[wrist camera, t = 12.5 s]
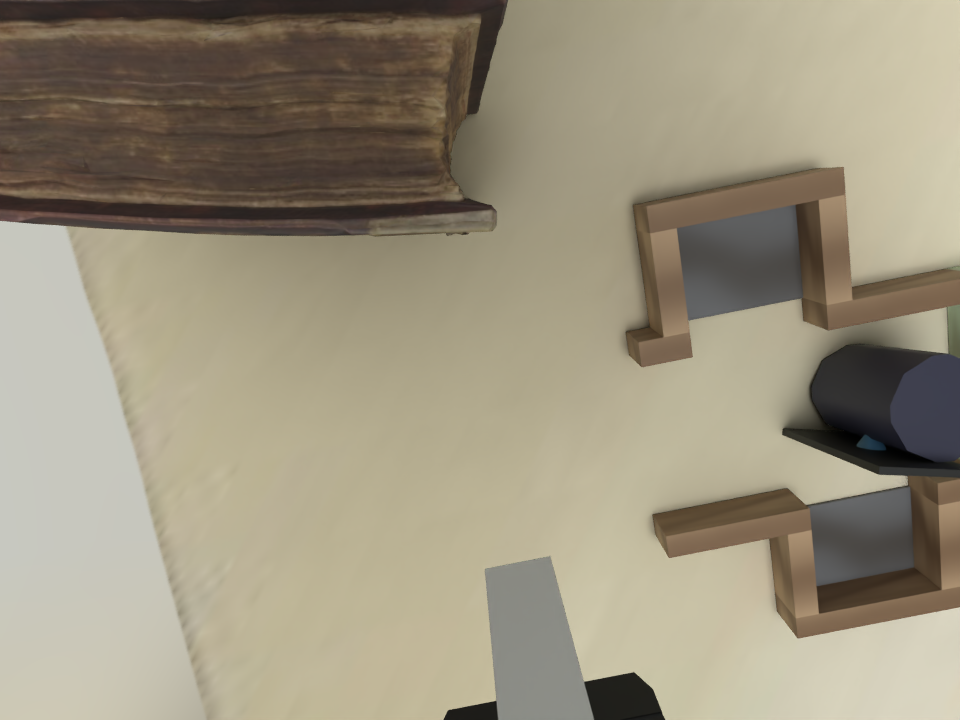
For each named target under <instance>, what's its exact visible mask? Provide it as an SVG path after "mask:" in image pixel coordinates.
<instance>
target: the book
mask: <svg viewBox="0 0 960 720" xmlns="http://www.w3.org/2000/svg"><path fill="white" fill-rule="evenodd" d="M507 2H508V0H0V221H10V222H21V223H32V224H47V225H61V226H74V227H87V228H103V229H124V230H145V231H162V232H178V233H194V234H221V235H265V236H339V235H371V236H394V235H415V234H436V233H446V235H447V236H448V235H452V234H456V233H457V234H461V235H466V234H469V232H489V231H493V230H494V228H495V227H496V222H497V211H496V210H495V209H494V208H493V207H492V205H487V204H484V203H480V202H477V201H474V200H471V199H465V198H464V195H463V193H462V191H461V190H460V186H459V185H458V184H457V183H456V182H455V180H454V179H453V178H452V176H451V175H450V171H451V170H450V164H451V160H452V159H451V156H450V153H451V150H452V144H453V141H454V140H455V137H456V134H457V133H456V131H457V129H458V128H459V127H460V125H461V122H462V121H463V120H465V119H466V115H467V114H476V113H477V112H478V110H479V106H480V100H481V95H482V92H483V88H484V84H485V80H486V77H487V73H488V70H489V66H490V61H491V58H492V54H493V51H494V47H495V45H496V39H497V35H498V32H499V30H500V28H501V26H502V24H503V19H504V15H505V11H506V7H507Z"/></svg>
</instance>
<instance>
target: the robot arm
mask: <svg viewBox="0 0 960 720" xmlns="http://www.w3.org/2000/svg"><path fill="white" fill-rule="evenodd" d="M485 576H486V588H487V599H488V610H489V622H490V633H491V644H492V655H493V667H494V678H495V689H496V701H494V702H489V703H483V704H478V705H473V706H468V707H463V708H458V709H452V710H448V712H447V714H446V716H445V718H444V720H665V718H664V716H663V715H662V711H661V708H660V706H659V703H658V701H657V698H656V696H655V693H654V691H653V689H652V688H651V687H650V686H649V685H648V684H647V683H645V682H644V681H643V680H642V679H641V678H640V677H639V676H638V675H637V674H636V673H634V672H633V673H628V674H623V675H618V676H612V677H607V678H602V679H597V680H592V681H587V682H584V680H583V677H582V673H581V669H580V665H579V662H578V658H577V654H576V650H575V647H574V643H573V639H572V636H571V632H570V628H569V624H568V621H567V617H566V613H565V609H564V606H563V602H562V598H561V595H560V591H559V587H558V583H557V580H556V576H555V572H554V568H553V565H552V561H551V557H550V556H548V557H543V558H538V559H533V560H528V561H523V562H518V563H513V564H508V565H502V566H497V567H492V568H487V569H485Z"/></svg>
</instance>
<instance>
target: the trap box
mask: <svg viewBox="0 0 960 720" xmlns="http://www.w3.org/2000/svg"><path fill="white" fill-rule="evenodd" d="M633 209H634V216H635V223H636V231H637V238H638V245H639V252H640V260H641V267H642V274H643V281H644V289H645V296H646V303H647V310H648V318H649V325H650V327H649V328H644V329H639V330H634V331H629V332H626V336H627V343H628V350H629V355H630V356H631V357H632V358H633V359H634V360H635V361H636V362H637V363H638V364H639V365H640V366H641V367H645V366H650V365H655V364H661V363H666V362H671V361H676V360H681V359H686V358H691V357H693V355H692V347H691V339H690V331H689V323H688V320H693V319H698V318H704V317H709V316H714V315H719V314H724V313H729V312H734V311H739V310H744V309H749V308H754V307H759V306H764V305H769V304H774V303H779V302H784V301H790V300H795V299H800V298H802V306H803V318H804V321H805V322H808V323H811V324H813V325H816V326H819V327H821V328H824V329H826V330H833V329H838V328H843V327H848V326H853V325H858V324H863V323H868V322H873V321H878V320H884V319H889V318H894V317H899V316H904V315H909V314H914V313H919V312H924V311H929V310H934V309H939V308H944V307H947V310H948V339H949V354H951V355H953V356H956V357H958V358H960V266H957V267H952V268H947V269H942V270H937V271H932V272H927V273H922V274H917V275H912V276H907V277H902V278H897V279H892V280H887V281H882V282H877V283H871V284H866V285H861V286H856V287H852V286H851V271H850V256H849V241H848V226H847V211H846V196H845V181H844V167H836V168H816V169H811V170H806V171H801V172H796V173H791V174H786V175H781V176H776V177H771V178H766V179H761V180H756V181H751V182H746V183H741V184H736V185H731V186H726V187H721V188H716V189H711V190H706V191H701V192H696V193H691V194H686V195H680V196H675V197H670V198H665V199H660V200H655V201H650V202H645V203H640V204H635V205H633ZM952 462H955V463H958V464H960V458H958V459H957V460H955V461H952ZM653 520H654V527H655V534H656V537H657V538H658V540H659V542H660V543H661V545H662V547H663V548H664V550H665V552H666V554H667V555H668V557H669V558H672V557H677V556H682V555H687V554H692V553H697V552H703V551H708V550H713V549H718V548H723V547H728V546H733V545H738V544H744V543H749V542H754V541H759V540H764V539H769V538H770V547H771V557H772V566H773V576H774V585H775V595H776V605H777V612H778V613H779V615H780V616H781V617H782V619H783V620H784V621H785V622H786V624H787V625H788V626H789V628H790V629H791V630H792V632H793V633H794V634H795V635H796V637H797V638H803V637H808V636H813V635H819V634H824V633H829V632H834V631H839V630H844V629H849V628H855V627H860V626H865V625H870V624H875V623H880V622H885V621H891V620H896V619H901V618H906V617H911V616H916V615H922V614H927V613H932V612H937V611H942V610H947V609H952V608H958V607H960V478H952V477H928V476H908V486H904V487H899V488H894V489H889V490H884V491H879V492H874V493H869V494H864V495H858V496H853V497H848V498H843V499H838V500H833V501H828V502H823V503H817V504H812V505H807V506H806V505H805V504H804V503H803V502H802V501H801V500H800V499H799V498H797V497H796V496H795V495H794V494H793V493H792V492H791V491H790V490H789V489H782V490H777V491H772V492H766V493H761V494H756V495H751V496H746V497H741V498H736V499H731V500H726V501H720V502H715V503H710V504H705V505H700V506H695V507H690V508H685V509H680V510H674V511H669V512H664V513H659V514H654V515H653Z"/></svg>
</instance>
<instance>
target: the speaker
mask: <svg viewBox="0 0 960 720" xmlns="http://www.w3.org/2000/svg"><path fill="white" fill-rule="evenodd" d="M812 401H813V403H814V404H815V406H816V408H817V409H818V411H819V413H820V414H821V416H822V418H823V419H824V421H825V423H826V424H828V425H830V426H833V427H835V428H838V429H841V430H843V431H825V430H802V429H783V434H782V435H784V436H787V437H789V438H791V439H794V440H796V441H799V442H801V443H804V444H806V445H808V446H811V447H813V448H816V449H818V450H821V451H823V452H825V453H828V454H830V455H833V456H835V457H838V458H840V459H842V460H845V461H847V462H850V463H852V464H855V465H857V466H859V467H862V468H864V469H867V470H869V471H872V472H874V473H876V474H879V475H903V476H928V477H952V478H960V464H958V463H955V462H952V461H955V460H957V459H958V458H960V358H958V357H956V356H953V355H951V354H945V353H936V352H927V351H918V350H909V349H900V348H892V347H883V346H874V345H865V344H855V345H846V346H845V347H843V348H841V349H840V350H838V351H837V352H835V353H834V354H832V355H830V356H829V357H827V358H826V359H824V360H823V361H822V363H821V365H820V368H819V370H818V372H817V375H816V377H815V379H814V382H813V384H812Z"/></svg>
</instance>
